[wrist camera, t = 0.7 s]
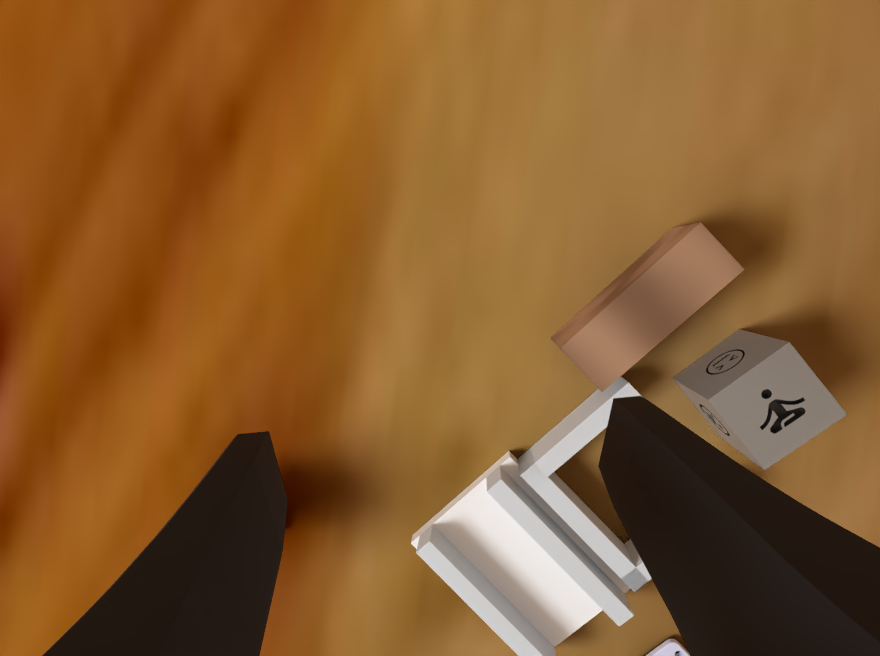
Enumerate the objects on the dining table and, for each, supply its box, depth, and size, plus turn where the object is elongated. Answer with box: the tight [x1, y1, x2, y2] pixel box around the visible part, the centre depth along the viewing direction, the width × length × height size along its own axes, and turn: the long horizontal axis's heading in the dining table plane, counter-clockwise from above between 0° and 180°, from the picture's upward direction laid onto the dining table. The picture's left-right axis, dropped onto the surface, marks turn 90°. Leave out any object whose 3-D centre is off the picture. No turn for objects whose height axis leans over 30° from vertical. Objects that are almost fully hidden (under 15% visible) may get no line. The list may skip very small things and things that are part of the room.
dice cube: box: [672, 329, 847, 470], centre depth 28 cm, size 5×5×5 cm
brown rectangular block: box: [551, 222, 745, 392], centre depth 28 cm, size 10×4×4 cm, turn 134°
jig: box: [411, 376, 652, 656], centre depth 31 cm, size 12×18×3 cm
